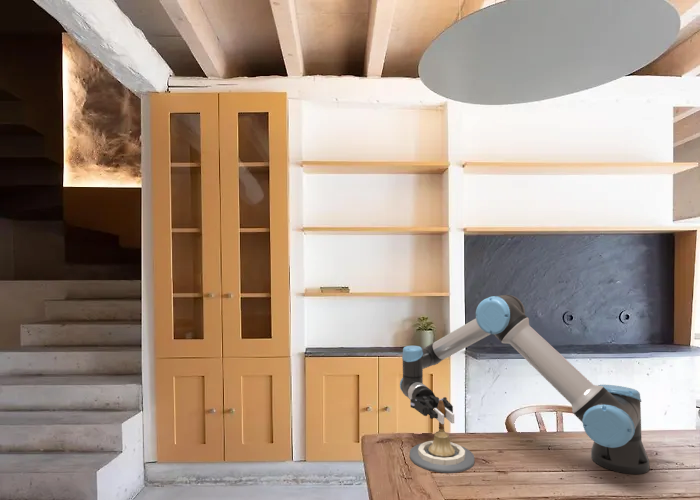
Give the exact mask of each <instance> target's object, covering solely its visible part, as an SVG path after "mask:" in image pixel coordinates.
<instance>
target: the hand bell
mask: <svg viewBox="0 0 700 500" xmlns="http://www.w3.org/2000/svg"><path fill="white" fill-rule="evenodd" d="M437 409H438V410H439V411H440V412H441V413H442V414H443V415H444V419H446V418H445V406H444V403H443V400H439V403H438V406H437ZM432 441H433V443H432V445H431V446H430V447H429V449H428V450H429V452H430V453H431V454H433V455H436V456H439V457H449V456H452V455H454V454H455V450H454V448H453V447H452V446H451V444H450V442H451V441H450V435H449V433H448V432H446V431H445V423H444V424H441V423H440V422H439V421H438V431H436V432H434V435H433V440H432Z"/></svg>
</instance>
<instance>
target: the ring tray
mask: <svg viewBox="0 0 700 500" xmlns="http://www.w3.org/2000/svg"><path fill="white" fill-rule="evenodd" d="M433 441H434V440H428V441H425V442H422V443H421V442H420V443H418V444H416V445H414V446H412V447H411V448H410V451H409V459H410V461H411V462H412V463H413V464H414V465H416V466H418V467H419V468H421V469H424V470H427V471H430V472H434V473H441V474H454V473H455V474H456V473H461V472H464V471H465V472H466V471H467V470H469V469H471V468H472V467H474V465H475V455H474V453H473V452H472V451H471V450H469V449H468V448H466V447H464V446H462V445H460V444H457V443H455V442H452V441H450V444H451V446H452V447H453V448H454V450H455V454H454V455H452V456H449V457H439V456H436V455H433V454H431V453H430V452H429V450H428V449H429V447H430V446H431V445H432V443H433Z"/></svg>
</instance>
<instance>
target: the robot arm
mask: <svg viewBox="0 0 700 500" xmlns="http://www.w3.org/2000/svg"><path fill="white" fill-rule="evenodd" d="M490 335H494V336H495V338H497V339H498V340H499V341H500V343H501V344H506V345H507V344H508V345H510V346H511V347H512V348H513V349H514V350H516V351H517V353H519V355H521V357H522V358H524V360H526V361H527V363H529V364H530V365H531V366H532V367H533V369H535V371H537V372H538V373H539V374H540V375H541V376H542V377H543V379H545V380H546V381H547V382H548V383H549V384H550V385H551V386H552V387H553V388H554V389H555V390H556V391H557V392H558V393H559V394H560V395H562V397H563V398H564V399H566V400H567V402H569V403H570V404H571V407H572V408H571V409H572V414H573V415H574V416H575V417H576V418H577V419H578V420H579V421H580V422H581V424H582V427H583V430H584V432H585V433H586V435H587V437H588V438H590V439H591V441H593V444H592V447H591V450H590V454H591V455H590V458H591V459H592V461H593V462H594V463H595V464H597V465H598V466H601V467H602V468H604V469H607V470H610V471H614V472H616V473H622V474H628V475H629V474H630V475H642V474H646V473H648V472H649V471H650V460H649V458H648V454H647V452H646V449H645V447H644V443H643V440H642V411H641V402H642V399H641V393H640V392H639V390H637V389H635V388H631V387H627V386H621V385H613V384H593V383H592V382H591V381H590V380H589V379H588V378H587V377H586V376H585V375H583V374H582V372H581V371H579V370H578V369H577V368H576V367H575V366H573V364H572V363H570V361H568V360H567V359H566V358H565V357H564V356H563V355H562V354H561V353H560V352H559V351H558V350H557V349H555V348H554V347H553V345H551V344H550V343H549V342H548V341H547V340H546V339H545V338H544V337H542V335H540V334H539V333H538V332H537V331H536V330H535V329H534V328H533V327H531V325H530V318H529V317H528V316H527V315H526V310H525V306H524V303H522V301H521V300H520V299H519V298H518V297H516V296H514V295H511V294H502V295H495V296H493V295H492V296H488V297H487V298H484V299H483V300H481V301H480V302H479V303H478V305H477V306H476V310H475V318H474V319H471V321H469V322H467V323H465V324H463V325H462V326H460V327H458V328H456V329H454V330H453V331H452V332H449V333H448V334H446V335H444V336H443V337H441V338H439V339H438V340H436V341H434V342H432V343H430V344H429V345H427V346H425V347H421V346H419V345H405V346H404V347H403V348H402V356H401V357H402V358H401V359H402V377H401V380H400V382H399V388H400V390H401V393H402V394H403V395H404V396H405V397H407V399H409V400H410V401H409V402H410V408H412V409H414V410H416V411H417V412H419V413H420V415H422V416H424V417H427V416H429V419H433V420H434V419H436V420H437V421H438V423H439V422H440V423H441V424H444V425H445V419H446V420H448V422H450V423H451V424H455V413H454V408H453V407H454V406H453V405H452V403H450V401H448V398H447V397H446V396H444V397H443V398H441V399H440V398H439V396H436V395H435V393H434V392H433V390H432V389H430V388H429V387H428V386H427V385H425V384H424V382H423V380H424V378H423V375H424V374H423V372H424V371H423V370H424V369H426V368H429V367H432V366H435V365H438V364H439V363H441V362H443V360H445V359H447V358H449V357H451V356H453V355H455V354H457V353H459V352H460V351H462V350H464V349H466V348H468V347H469V346H472V345H474V344H475V343H478V342H479V341H480V340H483V339H485V338H486V337H488V336H490ZM439 400H443V403H444V406H445V418H444V415H443V414H442V413H441V412H440V411H439V410H438V409H437V406H438V403H439Z"/></svg>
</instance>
